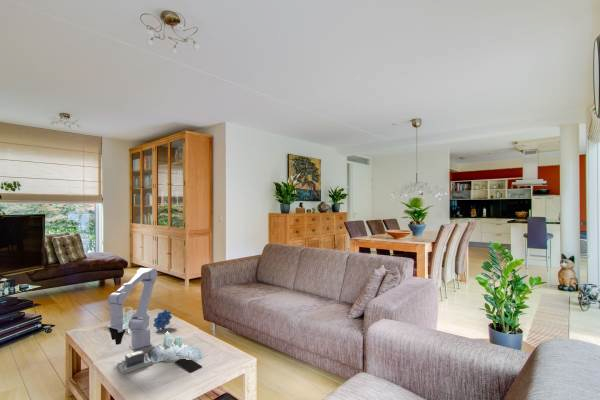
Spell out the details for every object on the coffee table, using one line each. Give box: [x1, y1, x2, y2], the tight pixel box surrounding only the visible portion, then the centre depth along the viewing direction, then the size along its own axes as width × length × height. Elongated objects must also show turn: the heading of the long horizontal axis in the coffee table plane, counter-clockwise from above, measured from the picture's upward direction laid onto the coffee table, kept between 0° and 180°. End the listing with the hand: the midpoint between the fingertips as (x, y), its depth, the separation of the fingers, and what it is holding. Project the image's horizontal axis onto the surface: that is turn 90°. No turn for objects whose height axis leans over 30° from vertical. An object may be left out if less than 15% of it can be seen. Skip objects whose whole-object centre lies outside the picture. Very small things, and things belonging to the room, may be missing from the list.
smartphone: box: [173, 358, 203, 374], centre depth 160 cm, size 7×1×15 cm
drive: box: [124, 350, 146, 368], centre depth 159 cm, size 8×4×5 cm, turn 133°
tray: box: [116, 353, 153, 375], centre depth 159 cm, size 14×9×4 cm, turn 133°
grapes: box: [153, 309, 173, 331], centre depth 205 cm, size 12×7×12 cm, turn 135°
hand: (116, 341), depth 164 cm, fingers open, 7 cm apart
